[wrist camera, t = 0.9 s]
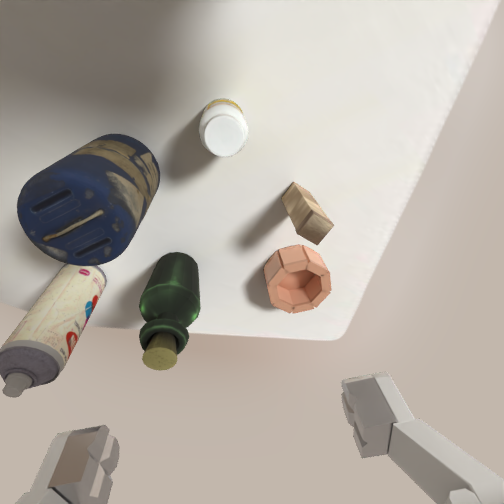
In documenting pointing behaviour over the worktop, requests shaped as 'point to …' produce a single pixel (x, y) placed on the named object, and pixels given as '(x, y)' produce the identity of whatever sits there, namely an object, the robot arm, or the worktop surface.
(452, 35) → the worktop surface
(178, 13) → the worktop surface
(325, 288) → the terracotta polygonal bowl
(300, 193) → the tan wooden post
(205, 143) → the supplement bottle
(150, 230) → the worktop surface
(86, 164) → the canister
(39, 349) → the aerosol can
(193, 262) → the potion bottle
